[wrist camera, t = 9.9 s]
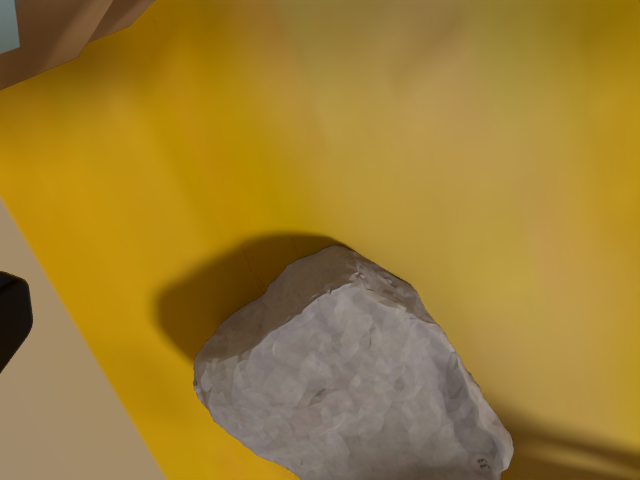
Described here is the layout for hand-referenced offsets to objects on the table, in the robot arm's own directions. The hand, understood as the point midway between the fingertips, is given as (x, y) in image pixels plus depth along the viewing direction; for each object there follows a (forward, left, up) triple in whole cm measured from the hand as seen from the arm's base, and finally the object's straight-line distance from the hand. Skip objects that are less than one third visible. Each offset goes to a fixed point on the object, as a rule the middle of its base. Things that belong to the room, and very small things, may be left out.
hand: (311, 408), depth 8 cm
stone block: (+9, +8, -14) cm, 18 cm away
